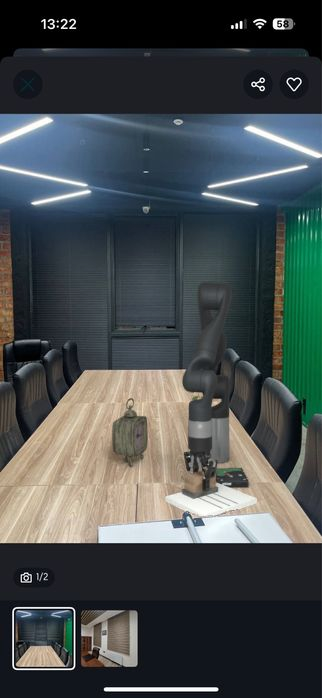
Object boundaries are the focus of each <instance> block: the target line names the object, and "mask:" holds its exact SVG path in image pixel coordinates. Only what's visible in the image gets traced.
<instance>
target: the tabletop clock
mask: <svg viewBox="0 0 322 698" xmlns="http://www.w3.org/2000/svg"><path fill="white" fill-rule="evenodd" d="M130 401H132V405H128V403H129V402H130ZM134 406H135V400H134V398H132V397H130V398H128V399H126V404H125V407H126V409H127V410H125V412H124V413H123V416H121V417H119V418H118V419H116V420H114V421H113V422H112V425H111V428H112V429H111V439H112V440H111V441H112V443H111V445H112V446H111V447H112V452H113V453H114V454H115V455H118V456H123V457H124V456H125V457H124V458H123V459H122V460H123V462H124V463H126V462H129V463H128V466H129V467H131V468H132V467H133V466H134V462H132V457H134V458H135V457H139V459H140V460H143V459H144V458H145V455H143V454H144V453H145V451H146V450H147V448H148V432H149V431H148V417H147V416H144V415H137V412H136V411H135V410H134V409H133V408H134Z"/></svg>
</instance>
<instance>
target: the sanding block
mask: <svg viewBox="0 0 322 698" xmlns="http://www.w3.org/2000/svg"><path fill="white" fill-rule="evenodd" d="M211 473H212V472H211ZM205 475H207V473H206V471H205ZM202 479H203V478H202V473H201V472H200V470H198V472H194V473H190V472H189V473H187V474H184V477H183V480H184V487H183V488H182V489H181V492H182V494H183V495H186V496H188V497H190V498H192V499H196V498H199V497H202V496H206V495H209V494H213V493H216V492H218V487H217V486H216V473H215V477H214V478H210V488H209V490H208V491H203V490H202Z"/></svg>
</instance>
